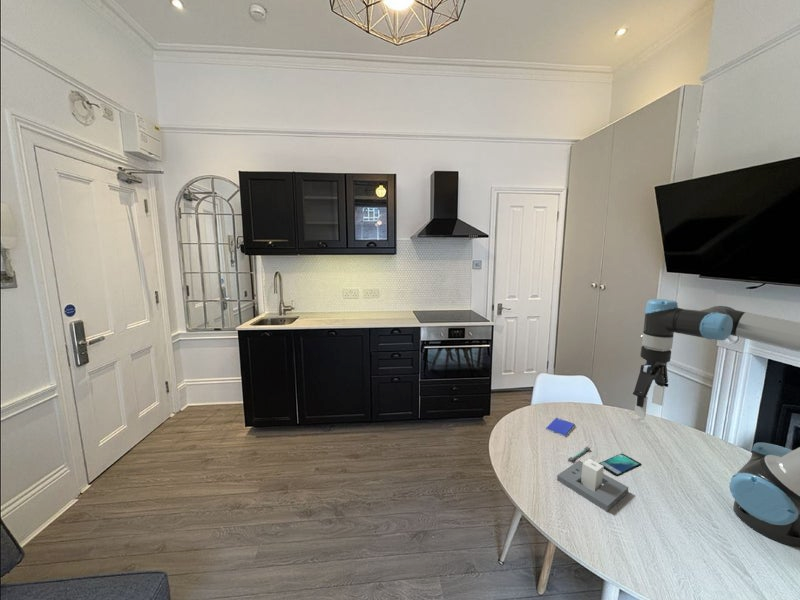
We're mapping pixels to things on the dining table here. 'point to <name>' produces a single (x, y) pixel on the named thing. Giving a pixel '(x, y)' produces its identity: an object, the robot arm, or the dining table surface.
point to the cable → (578, 454)
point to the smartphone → (619, 464)
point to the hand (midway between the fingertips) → (648, 409)
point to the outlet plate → (601, 497)
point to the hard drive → (560, 427)
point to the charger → (592, 475)
